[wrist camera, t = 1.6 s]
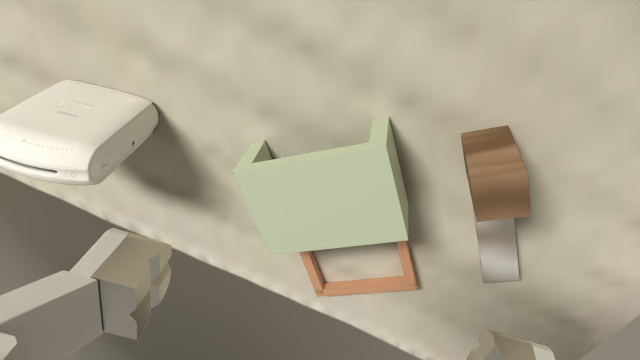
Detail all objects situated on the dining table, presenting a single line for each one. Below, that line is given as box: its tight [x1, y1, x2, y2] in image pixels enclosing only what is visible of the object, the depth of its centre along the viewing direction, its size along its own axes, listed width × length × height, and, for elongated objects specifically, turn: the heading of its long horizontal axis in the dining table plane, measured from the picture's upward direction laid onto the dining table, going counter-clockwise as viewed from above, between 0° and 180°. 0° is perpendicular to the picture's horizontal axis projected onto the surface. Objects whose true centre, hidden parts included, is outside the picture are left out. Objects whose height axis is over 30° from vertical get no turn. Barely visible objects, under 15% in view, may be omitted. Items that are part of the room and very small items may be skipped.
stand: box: [233, 117, 409, 255], centre depth 42 cm, size 14×10×6 cm
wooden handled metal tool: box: [461, 126, 530, 283], centre depth 40 cm, size 18×4×8 cm, turn 16°
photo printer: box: [0, 80, 159, 185], centre depth 39 cm, size 10×4×12 cm, turn 79°
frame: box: [300, 241, 417, 297], centre depth 49 cm, size 12×10×1 cm
